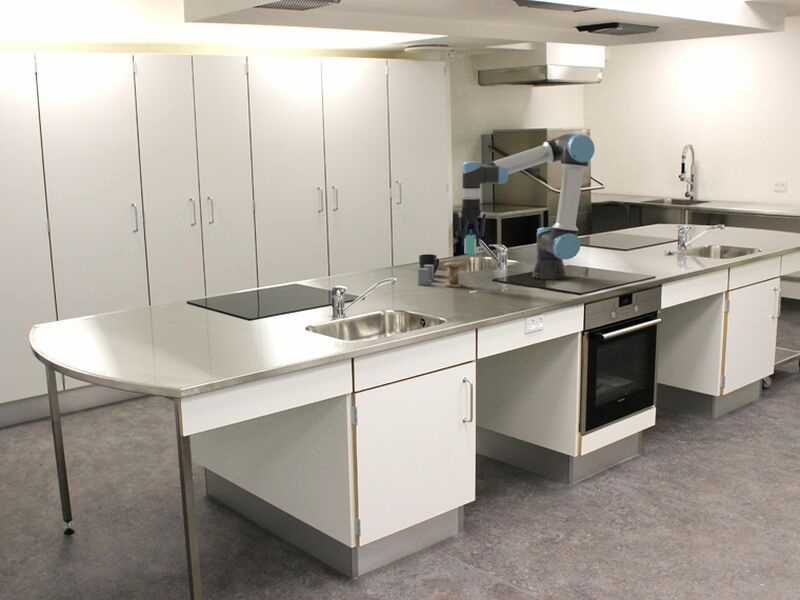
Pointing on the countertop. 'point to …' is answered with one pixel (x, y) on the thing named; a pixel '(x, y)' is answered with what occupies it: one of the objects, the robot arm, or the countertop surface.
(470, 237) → the teal bottle
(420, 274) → the notch board
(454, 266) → the bobbin
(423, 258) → the mug
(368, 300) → the countertop surface
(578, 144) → the robot arm
